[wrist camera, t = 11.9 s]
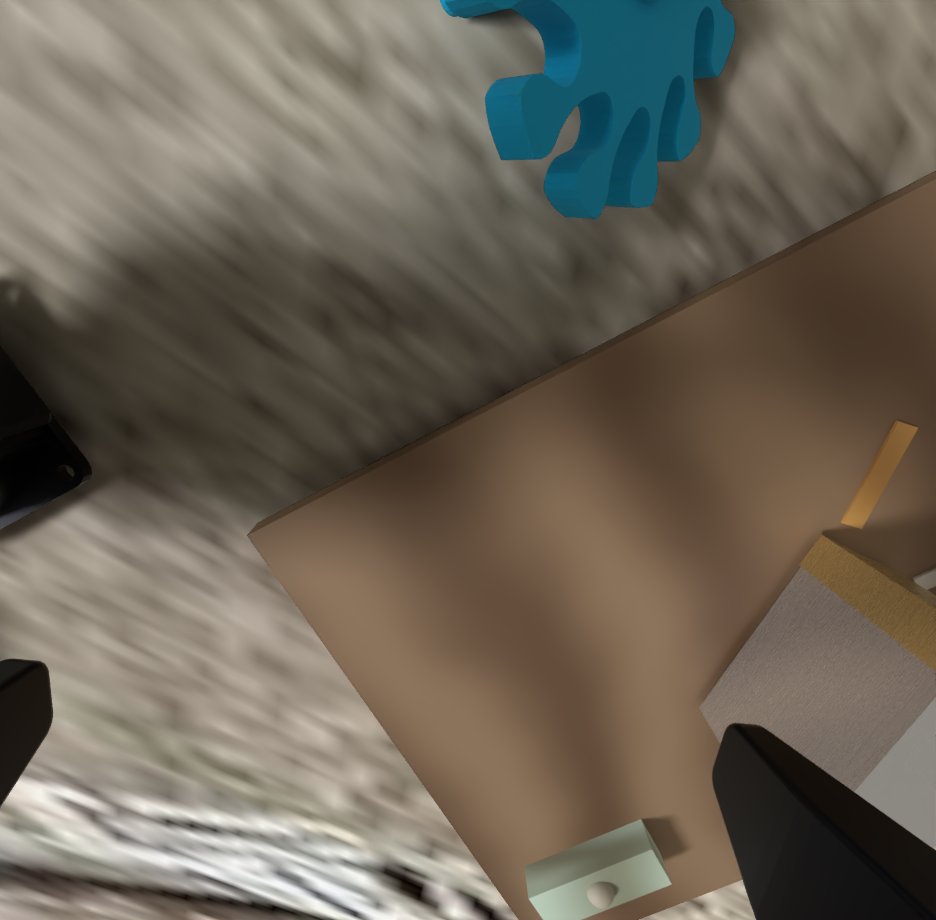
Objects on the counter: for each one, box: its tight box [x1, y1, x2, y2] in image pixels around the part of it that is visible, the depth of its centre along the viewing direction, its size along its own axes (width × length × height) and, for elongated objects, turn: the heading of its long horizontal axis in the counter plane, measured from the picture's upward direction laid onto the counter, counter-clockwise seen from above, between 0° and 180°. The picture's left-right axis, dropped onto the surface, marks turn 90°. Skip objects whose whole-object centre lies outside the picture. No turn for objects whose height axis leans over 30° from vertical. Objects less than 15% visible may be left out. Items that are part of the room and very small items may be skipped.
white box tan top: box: [699, 535, 936, 848], centre depth 16 cm, size 7×3×6 cm, turn 154°
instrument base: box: [247, 171, 936, 920], centre depth 18 cm, size 24×22×3 cm
